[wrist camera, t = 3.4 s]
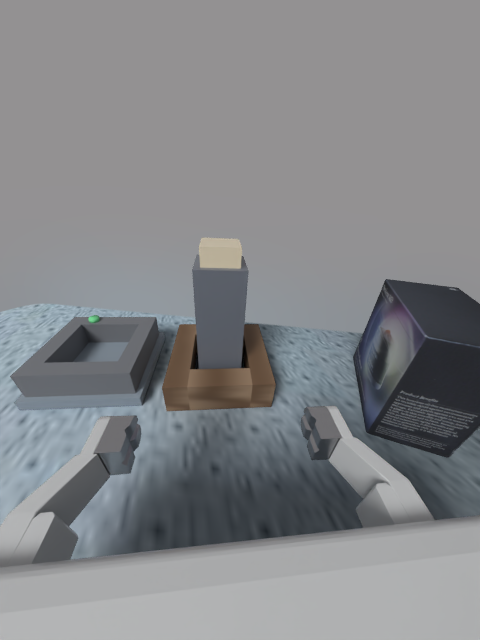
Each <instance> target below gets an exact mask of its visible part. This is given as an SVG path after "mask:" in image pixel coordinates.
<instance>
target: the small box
mask: <svg viewBox="0 0 480 640" xmlns="http://www.w3.org/2000/svg"><path fill="white" fill-rule="evenodd" d="M353 358H354V364H355V370H356V375H357V381H358V386H359V392H360V398H361V403H362V410H363V415H364V421H365V427H366V432H367V433H369V434H372V435H375V436H379V437H381V438H385V439H388V440H391V441H395V442H398V443H401V444H404V445H407V446H411V447H414V448H417V449H421V450H424V451H428V452H430V453H434V454H437V455H441V456H444V457H450V456H451V455H452V454H453V453H454V451H455V450H456V449H457V448H459V446H460V445H461V444H462V443H463V442H464V441H465V440H466V439H468V438H469V437H470V436H471V435H472V434H473V433H474V431H475V430H477V429H478V428H479V427H480V304H479V303H478V302H476V301H475V300H474V299H472V298H471V297H469V296H468V295H467V294H465V293H464V292H463V291H461V290H460V289H459V288H454V287H446V286H438V285H429V284H421V283H412V282H405V281H397V280H388V279H386V280H385V282H384V285H383V287H382V290H381V292H380V295H379V297H378V300H377V302H376V304H375V307H374V309H373V312H372V314H371V316H370V319H369V321H368V324H367V326H366V328H365V331H364V333H363V336H362V338H361V340H360V343H359V345H358V347H357V350H356V352H355V355H354V357H353Z"/></svg>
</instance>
